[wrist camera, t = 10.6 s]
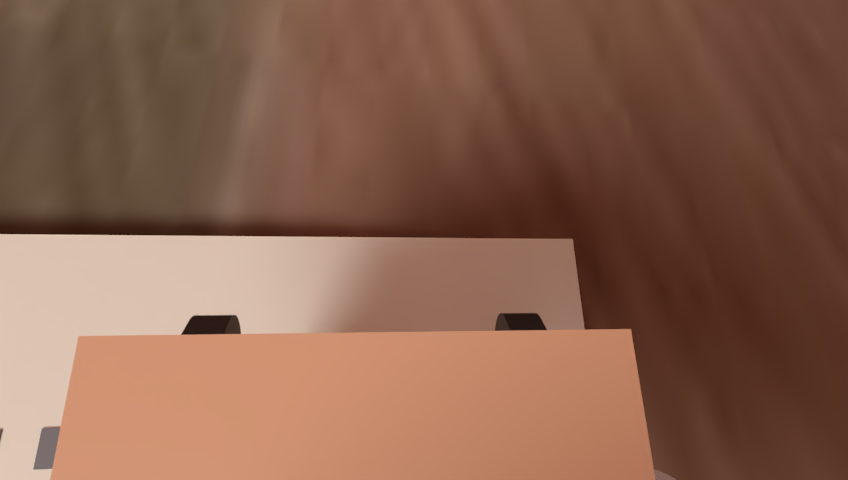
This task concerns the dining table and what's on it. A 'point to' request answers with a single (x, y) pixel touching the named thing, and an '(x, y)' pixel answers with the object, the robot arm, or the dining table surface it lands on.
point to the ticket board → (244, 301)
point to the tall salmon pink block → (356, 407)
